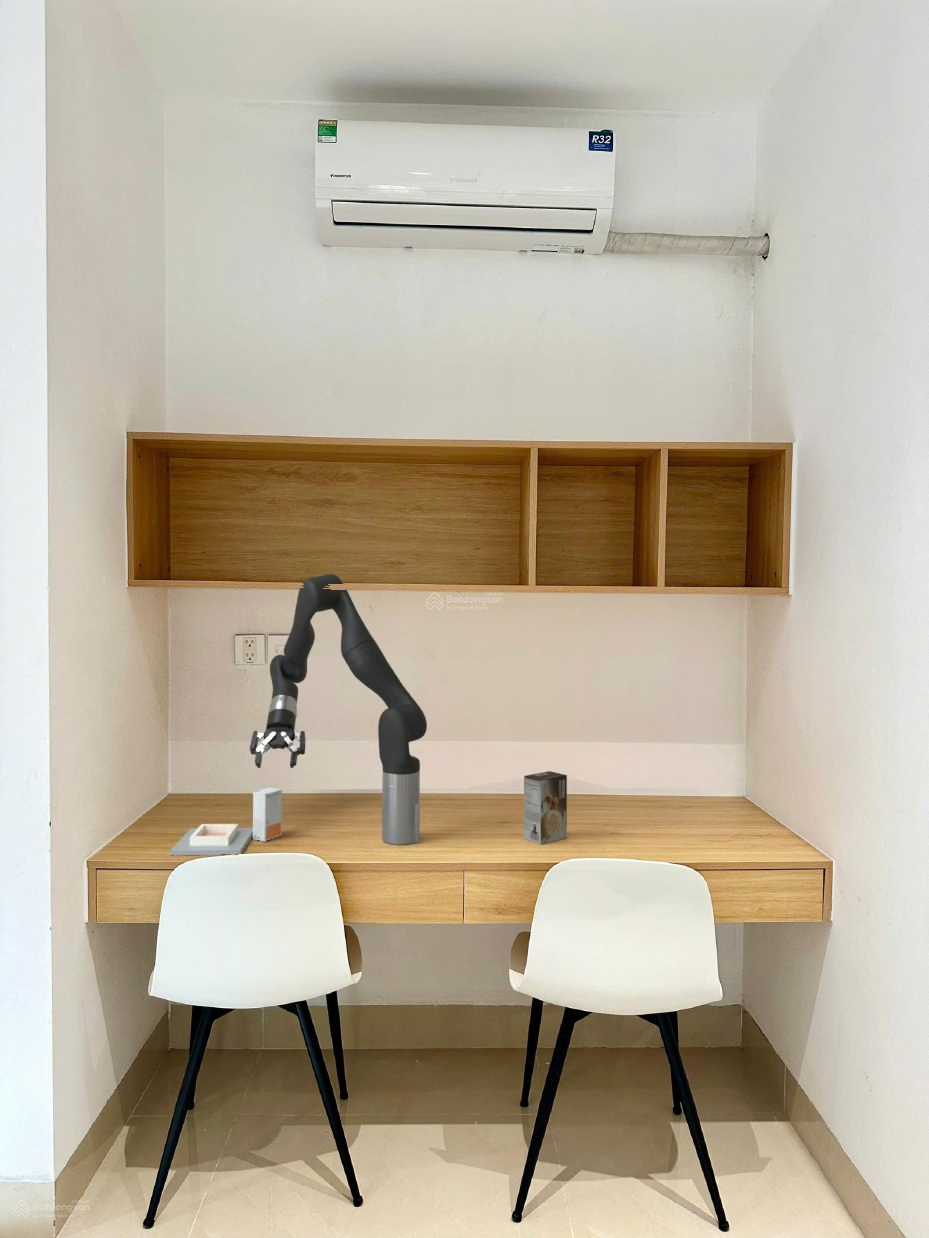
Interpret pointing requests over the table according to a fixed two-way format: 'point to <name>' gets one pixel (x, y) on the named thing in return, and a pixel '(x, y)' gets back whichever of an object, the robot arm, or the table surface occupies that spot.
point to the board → (213, 840)
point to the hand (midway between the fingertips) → (275, 766)
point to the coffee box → (545, 807)
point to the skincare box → (267, 814)
